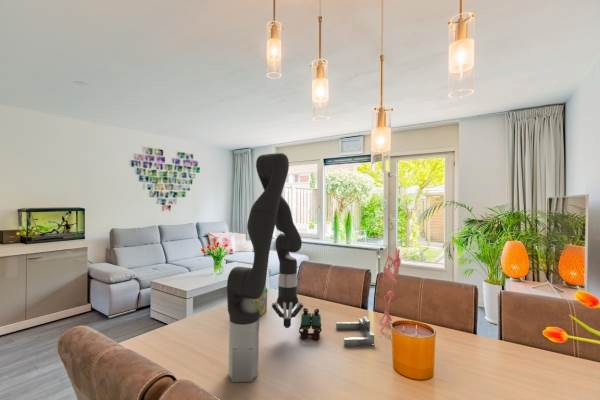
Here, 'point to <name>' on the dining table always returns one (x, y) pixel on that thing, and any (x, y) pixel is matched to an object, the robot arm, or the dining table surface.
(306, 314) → the binoculars
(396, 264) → the figurine
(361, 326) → the bracket
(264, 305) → the chalk box
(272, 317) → the dining table surface
